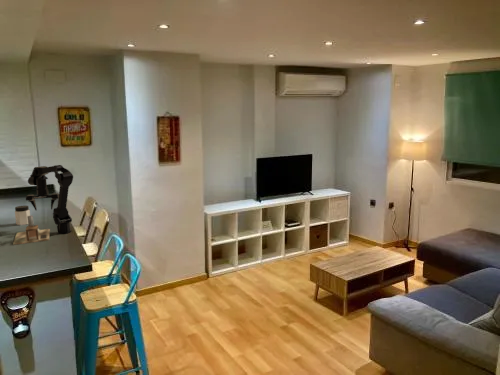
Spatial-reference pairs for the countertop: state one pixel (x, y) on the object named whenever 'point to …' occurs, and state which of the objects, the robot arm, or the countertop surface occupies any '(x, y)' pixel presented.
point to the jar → (22, 215)
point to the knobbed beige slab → (30, 223)
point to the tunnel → (31, 228)
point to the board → (22, 239)
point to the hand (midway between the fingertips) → (44, 209)
